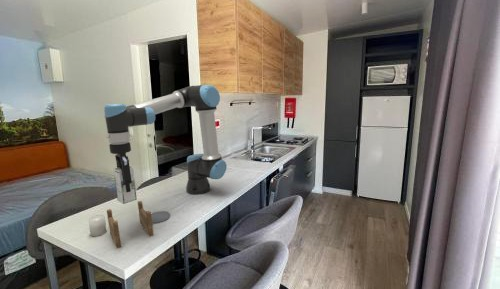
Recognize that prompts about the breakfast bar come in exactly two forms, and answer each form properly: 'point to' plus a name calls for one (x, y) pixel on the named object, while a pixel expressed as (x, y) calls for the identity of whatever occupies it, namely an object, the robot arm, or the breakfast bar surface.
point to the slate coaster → (160, 216)
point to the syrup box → (120, 187)
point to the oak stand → (144, 221)
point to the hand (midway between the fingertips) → (126, 196)
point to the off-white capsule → (97, 225)
